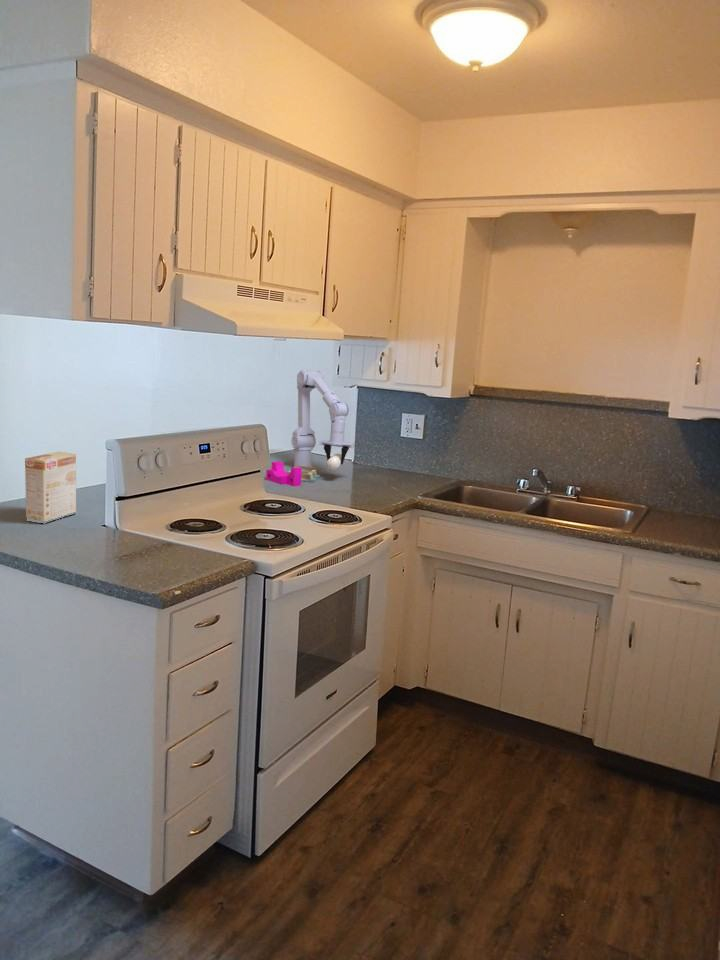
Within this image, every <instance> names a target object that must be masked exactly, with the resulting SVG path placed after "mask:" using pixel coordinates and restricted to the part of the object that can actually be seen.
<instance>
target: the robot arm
mask: <svg viewBox="0 0 720 960" xmlns="http://www.w3.org/2000/svg"><path fill="white" fill-rule="evenodd" d="M296 389H297V422H298V423H297V424H298V425H297V428H296V429H294V430H293V431H292V437H291V446H292V449H294V461H293V463H294V464H293V467H295V466H296V465H300V466H310V467H314V466H312V459H313V453H312V450H313V449H314V448H315V447H316V444H317V439H316V435H315V431H314V430H313V429H312V428H311V392H312V390H314V389H316V390H318V391H319V393H320V394H321V395H322V400H323V402H324V403H325V404H326V406H327V408H328V411H329V416H330V421H331V422H330V433H329V434H330V436H329V437H330V438H329V440H326V439H320V440H319V441H318V443H319V444H318V445H319V446H323V450H324V453H325V456H326V460H327V461H328V460H329V459H330V458H331V453H332V447H338V448H341V453H340V454H341V465H343V464H344V461H345V458H346V456H347V453H348V452H349V449H355V448H354V447H355V443H354V442H346V441H344V440H345V428H346V427H345V426H346V417H347V416H348V415H349V411H350V408H349V405H348V403H347V402H343V401H342V400H341V399H340V397H338V395H337V394H336V392H335V391H333V390H330V389H329V387H328V385H327V384H326V382H325V380H324V374H322V372H321V371H320V370H304V369H302V370H299V372H298V373H297V375H296ZM327 461H326V462H327Z"/></svg>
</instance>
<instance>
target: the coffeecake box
mask: <svg viewBox="0 0 720 960" xmlns="http://www.w3.org/2000/svg"><path fill="white" fill-rule="evenodd" d="M76 458H77V454H76V453H69V452H65V451H55V452H50V453H46V454H40V455H35V456H31V457H25V458H24V468H25V469H24V473H25V475H24V476H25V479H24V480H25V483H24V484H25V519H26V518H29V519H34V520H39V521H48V520H51V519H55V518H58V517H61V516H64V515H67V514H70V513H73V512H76V513H77V461H76V460H77V459H76Z"/></svg>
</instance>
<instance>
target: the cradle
mask: <svg viewBox="0 0 720 960" xmlns="http://www.w3.org/2000/svg"><path fill="white" fill-rule="evenodd" d="M295 467H301V468H302V476H301V482H303V481H304V482H303V483H314V482H316V481H317V480H318V479H319V478H321V476H322V474H323V475H324V472H319V467H318V466H317V467H316V466H313V467H310V466H300V465H296V466H295ZM285 472H286V473H287V474H288V475H289V474H290V472H291V469H290V470H288V471H285ZM318 477H319V478H318ZM317 478H318V479H317ZM316 479H317V480H316ZM315 480H316V481H315Z"/></svg>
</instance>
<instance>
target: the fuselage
mask: <svg viewBox="0 0 720 960" xmlns="http://www.w3.org/2000/svg"><path fill="white" fill-rule="evenodd" d="M326 466H327V468H328V469H329V470H332V471H333V470H334V471H335V470H337V469H338V468H339V467H340V466H342V464H341V453H335V454H334V455H332V456H330V459H329V460H328V461H326Z"/></svg>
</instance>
